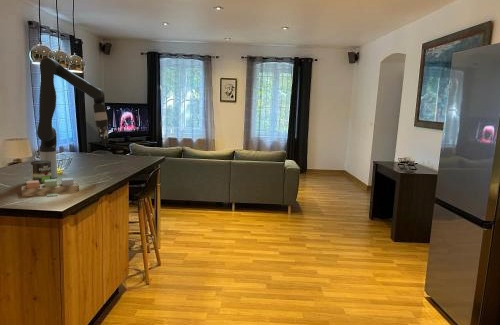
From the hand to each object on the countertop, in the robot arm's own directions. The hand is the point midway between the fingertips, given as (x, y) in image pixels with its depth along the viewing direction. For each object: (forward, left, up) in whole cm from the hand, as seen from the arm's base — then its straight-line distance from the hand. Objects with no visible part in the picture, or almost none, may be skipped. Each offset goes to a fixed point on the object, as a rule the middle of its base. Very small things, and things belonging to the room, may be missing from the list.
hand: (105, 144), depth 240 cm
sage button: (-4, -44, -20) cm, 48 cm away
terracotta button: (-10, -50, -20) cm, 54 cm away
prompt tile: (+2, -50, -22) cm, 54 cm away
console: (-4, -44, -22) cm, 49 cm away
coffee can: (-20, -33, -23) cm, 45 cm away
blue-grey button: (+1, -38, -20) cm, 43 cm away
